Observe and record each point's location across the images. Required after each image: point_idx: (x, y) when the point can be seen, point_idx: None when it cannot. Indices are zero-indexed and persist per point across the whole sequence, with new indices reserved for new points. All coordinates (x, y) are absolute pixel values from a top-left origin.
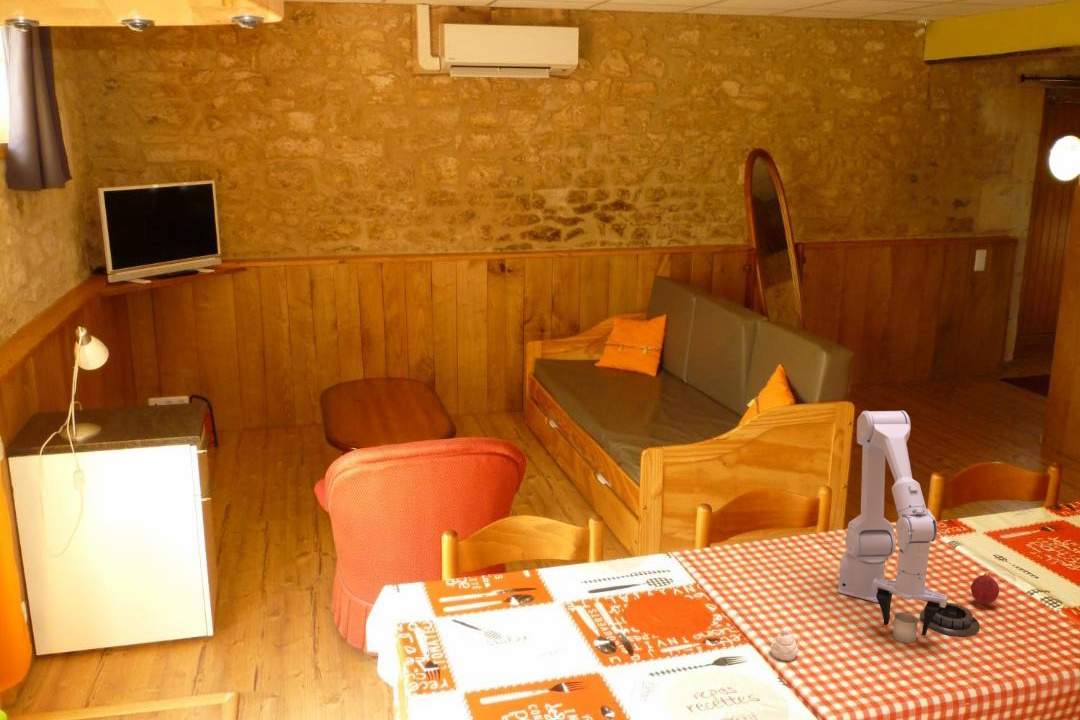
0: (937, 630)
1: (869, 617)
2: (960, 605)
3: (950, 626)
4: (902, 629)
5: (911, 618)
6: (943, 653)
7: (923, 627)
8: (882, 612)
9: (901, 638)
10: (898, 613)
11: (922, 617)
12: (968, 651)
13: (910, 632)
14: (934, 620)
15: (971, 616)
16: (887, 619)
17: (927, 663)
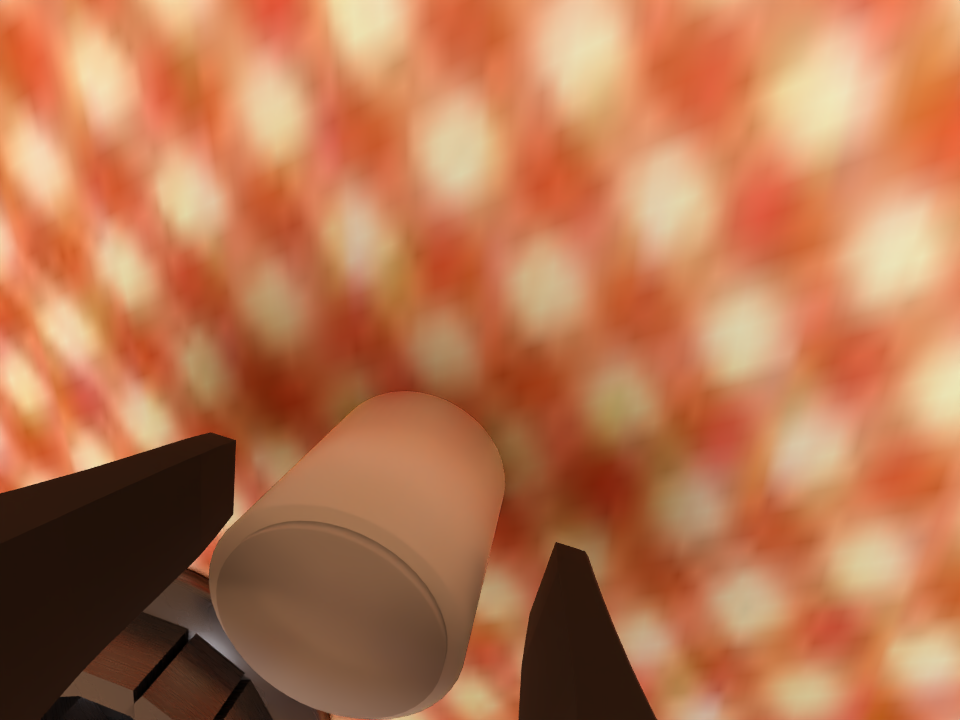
0: (207, 592)
1: (671, 700)
2: None
3: None
4: (393, 458)
5: (269, 614)
6: (127, 308)
7: (145, 471)
8: (639, 690)
9: (427, 410)
10: (419, 698)
11: (305, 718)
12: (7, 389)
13: (325, 447)
14: (217, 684)
15: None
16: (554, 599)
17: (199, 67)
